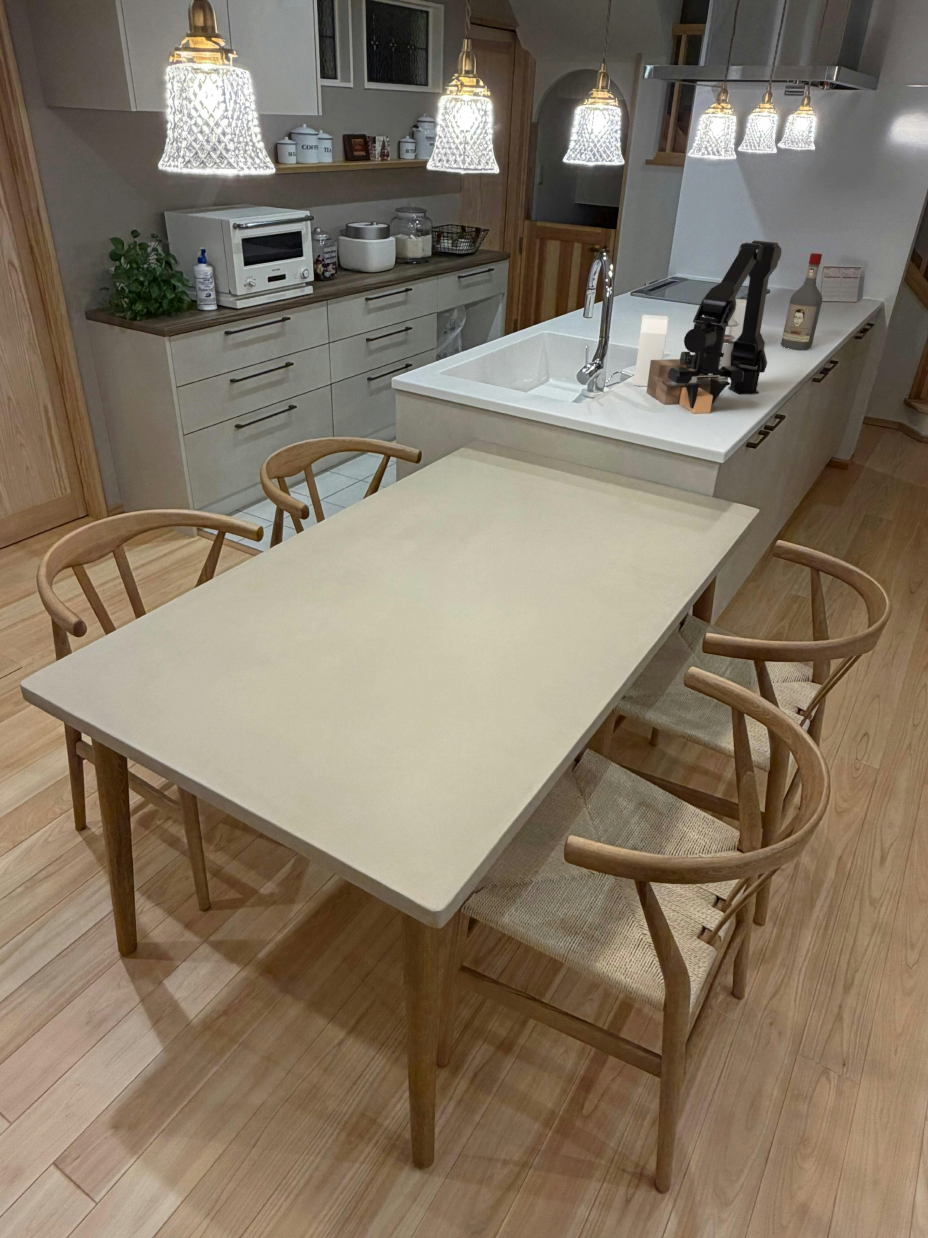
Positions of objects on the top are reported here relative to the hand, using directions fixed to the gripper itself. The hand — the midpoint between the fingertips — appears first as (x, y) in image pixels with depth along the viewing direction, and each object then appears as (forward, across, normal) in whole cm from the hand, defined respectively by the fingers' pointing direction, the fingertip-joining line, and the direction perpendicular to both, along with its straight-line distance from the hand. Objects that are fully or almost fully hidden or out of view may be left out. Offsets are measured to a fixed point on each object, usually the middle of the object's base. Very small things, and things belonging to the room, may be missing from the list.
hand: (700, 407), depth 221 cm
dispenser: (+1, 0, -13) cm, 13 cm away
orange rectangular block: (+1, 0, -4) cm, 4 cm away
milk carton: (+1, +3, -28) cm, 28 cm away
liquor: (+1, -70, -69) cm, 98 cm away
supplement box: (+1, -50, -71) cm, 86 cm away
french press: (+1, -27, -44) cm, 52 cm away
